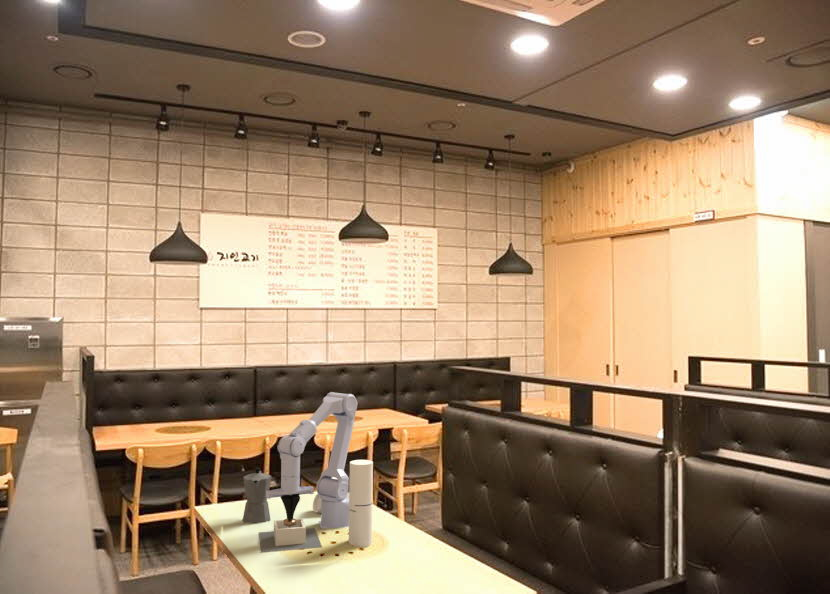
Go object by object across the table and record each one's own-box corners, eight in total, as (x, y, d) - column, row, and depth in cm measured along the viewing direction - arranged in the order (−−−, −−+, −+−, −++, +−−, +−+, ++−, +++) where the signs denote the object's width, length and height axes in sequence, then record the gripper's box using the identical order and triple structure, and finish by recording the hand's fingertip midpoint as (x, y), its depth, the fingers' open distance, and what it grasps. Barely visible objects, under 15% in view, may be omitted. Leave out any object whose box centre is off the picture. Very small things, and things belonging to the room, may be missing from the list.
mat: (314, 529, 212) (314, 528, 212) (322, 549, 195) (322, 547, 195) (258, 534, 207) (258, 532, 207) (260, 554, 190) (260, 552, 190)
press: (302, 533, 207) (302, 518, 207) (305, 543, 198) (305, 527, 198) (273, 535, 204) (274, 520, 204) (275, 545, 196) (275, 529, 196)
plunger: (298, 532, 205) (299, 516, 205) (300, 539, 199) (301, 522, 199) (278, 534, 203) (278, 517, 204) (279, 541, 197) (279, 524, 197)
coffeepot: (268, 526, 215) (269, 472, 215) (239, 527, 214) (240, 472, 214) (272, 512, 230) (273, 461, 231) (245, 513, 229) (246, 462, 229)
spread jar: (353, 510, 234) (354, 477, 235) (333, 518, 225) (334, 484, 225) (328, 504, 241) (328, 473, 241) (307, 512, 231) (308, 479, 231)
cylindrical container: (368, 548, 196) (369, 465, 197) (345, 546, 197) (346, 464, 198) (374, 540, 203) (375, 460, 204) (352, 538, 204) (353, 459, 205)
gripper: (309, 470, 208) (309, 512, 208) (264, 474, 202) (263, 518, 202) (315, 475, 202) (315, 519, 202) (269, 479, 196) (268, 524, 196)
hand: (289, 519), depth 201 cm, fingers closed
